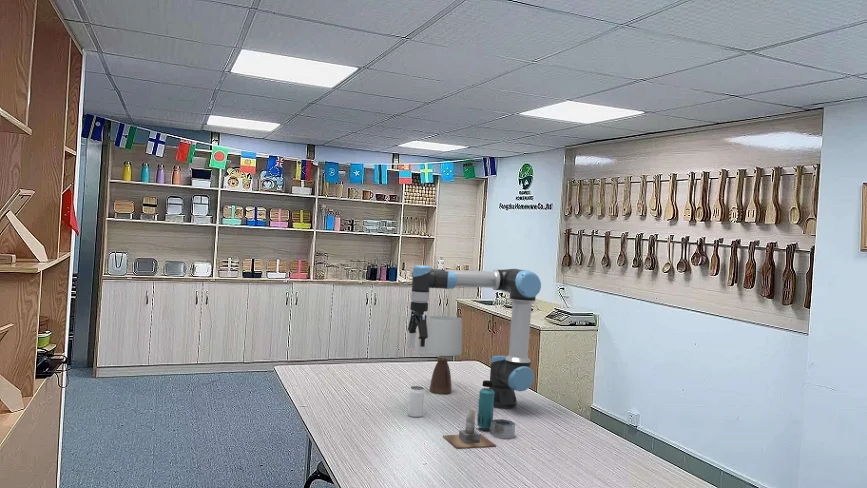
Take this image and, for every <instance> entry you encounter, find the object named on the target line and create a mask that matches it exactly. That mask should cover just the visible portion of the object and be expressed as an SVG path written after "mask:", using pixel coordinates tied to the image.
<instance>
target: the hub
mask: <svg viewBox="0 0 867 488" xmlns="http://www.w3.org/2000/svg"><path fill="white" fill-rule="evenodd" d="M515 429H516V423H515V422H514V421H512V420H507V419H503V418H502V419H501V418H500V419H493V420H492V421H491V426H490V429H489V435H490V436H492V437H493V438H497V439H502V440H505V439H506V440H509V439H513V438H514V437H515V433H516V432H515V431H516V430H515Z"/></svg>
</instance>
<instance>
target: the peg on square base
mask: <svg viewBox="0 0 867 488" xmlns="http://www.w3.org/2000/svg"><path fill="white" fill-rule="evenodd" d="M476 412H477V409H476V408H474V407H467V408H466V415H465V428H464V429H463V430H459V433H458V434H448V435H447V434H446V435H442V438H443V439H444V440H445V441H447V442H448V443H449V444H451V445H452V447H454V448H455V449H456V450H460V449H461V450H463V449H481V448H482V449H483V448H496V447H497V445H496V444H495V443H494V442H492V440H490V439H488V438H487V437H486V436H484V435H483V434H481V433H479V432H478V431H476V430H475V425H476Z"/></svg>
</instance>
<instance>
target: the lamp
mask: <svg viewBox="0 0 867 488" xmlns="http://www.w3.org/2000/svg"><path fill="white" fill-rule="evenodd" d="M462 323H463V319H462V318H461V317H457V316H449V315H430V316H428V323H427V333H428V338H426V340H425V353H426V354H429V355H433V356H437V358H436V361H437V362H436V364H435V365H434V366H435V367H434V368H433V372H432V376H431V379H430V383H429V385H430V386H429V392H431V393H433V394H436V395H437V394H439V395H449V394H451V393H452V390H453V389H452V388H453V387H452V376H451V369H450V365H449V363H448V361H449V358H448V357H458V356H462V353H463V351H462V350H463V348H462V347H463V324H462ZM438 356H439V357H438Z"/></svg>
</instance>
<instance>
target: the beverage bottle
mask: <svg viewBox="0 0 867 488" xmlns="http://www.w3.org/2000/svg"><path fill="white" fill-rule="evenodd" d="M481 386H482V388H481V389H480V390H479V394H478V395H479V396H478V404H477V405H478V411H477V418H476V419H477V423H476V424H477V426H478V427H479V428H482V429H489V428H490V426H491V421H492V420H494V413H495V412H494V408H495V407H494V394H495V392H494V391H493V390H492V389H490V388H489V387H492V386H493V385H492V381H490V379H489V380H486V379H485V380H482V385H481ZM483 387H484V388H483Z"/></svg>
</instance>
